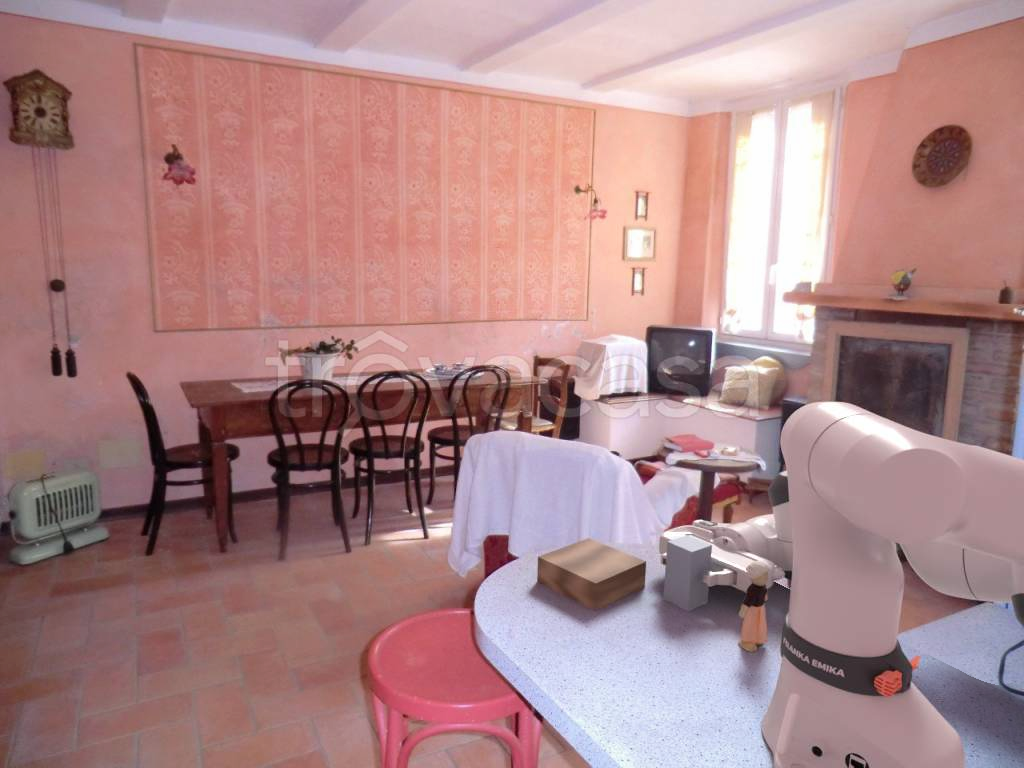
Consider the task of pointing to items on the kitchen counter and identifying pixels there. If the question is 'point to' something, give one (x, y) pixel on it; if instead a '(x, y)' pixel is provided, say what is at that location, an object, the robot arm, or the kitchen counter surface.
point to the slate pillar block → (687, 572)
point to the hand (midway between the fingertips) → (684, 570)
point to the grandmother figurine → (755, 607)
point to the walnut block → (591, 573)
